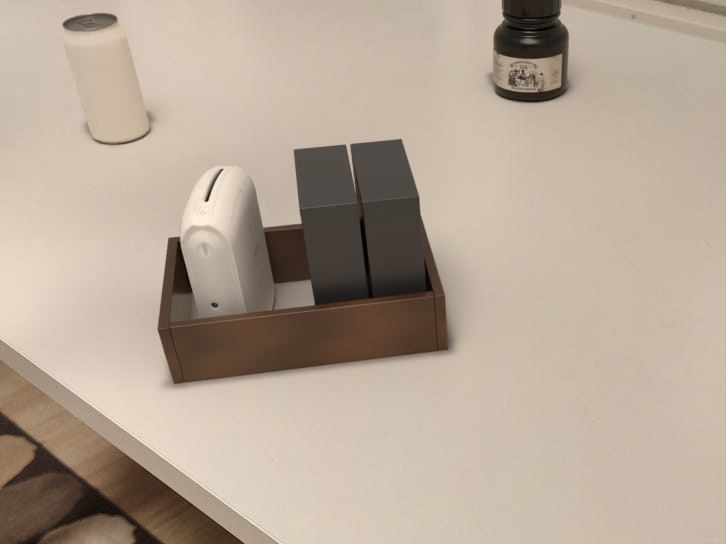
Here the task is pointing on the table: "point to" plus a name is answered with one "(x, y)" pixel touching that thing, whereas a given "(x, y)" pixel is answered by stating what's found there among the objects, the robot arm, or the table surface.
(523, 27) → the ink bottle
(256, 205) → the photo printer
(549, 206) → the table surface
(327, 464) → the table surface
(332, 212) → the charcoal box
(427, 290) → the brown wooden tray
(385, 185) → the charcoal box
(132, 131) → the can
